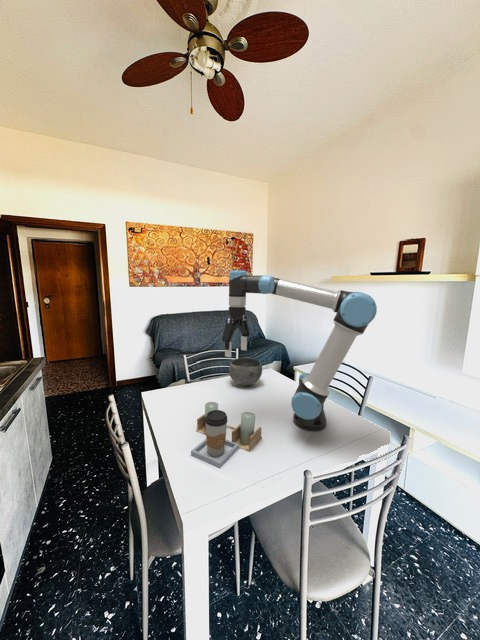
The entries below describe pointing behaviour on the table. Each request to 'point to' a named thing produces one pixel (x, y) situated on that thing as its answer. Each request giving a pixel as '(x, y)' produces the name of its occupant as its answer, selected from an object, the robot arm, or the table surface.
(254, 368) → the bowl
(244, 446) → the caddy
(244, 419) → the jar
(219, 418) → the coffee cup
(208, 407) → the jar
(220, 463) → the tray
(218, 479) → the table surface
